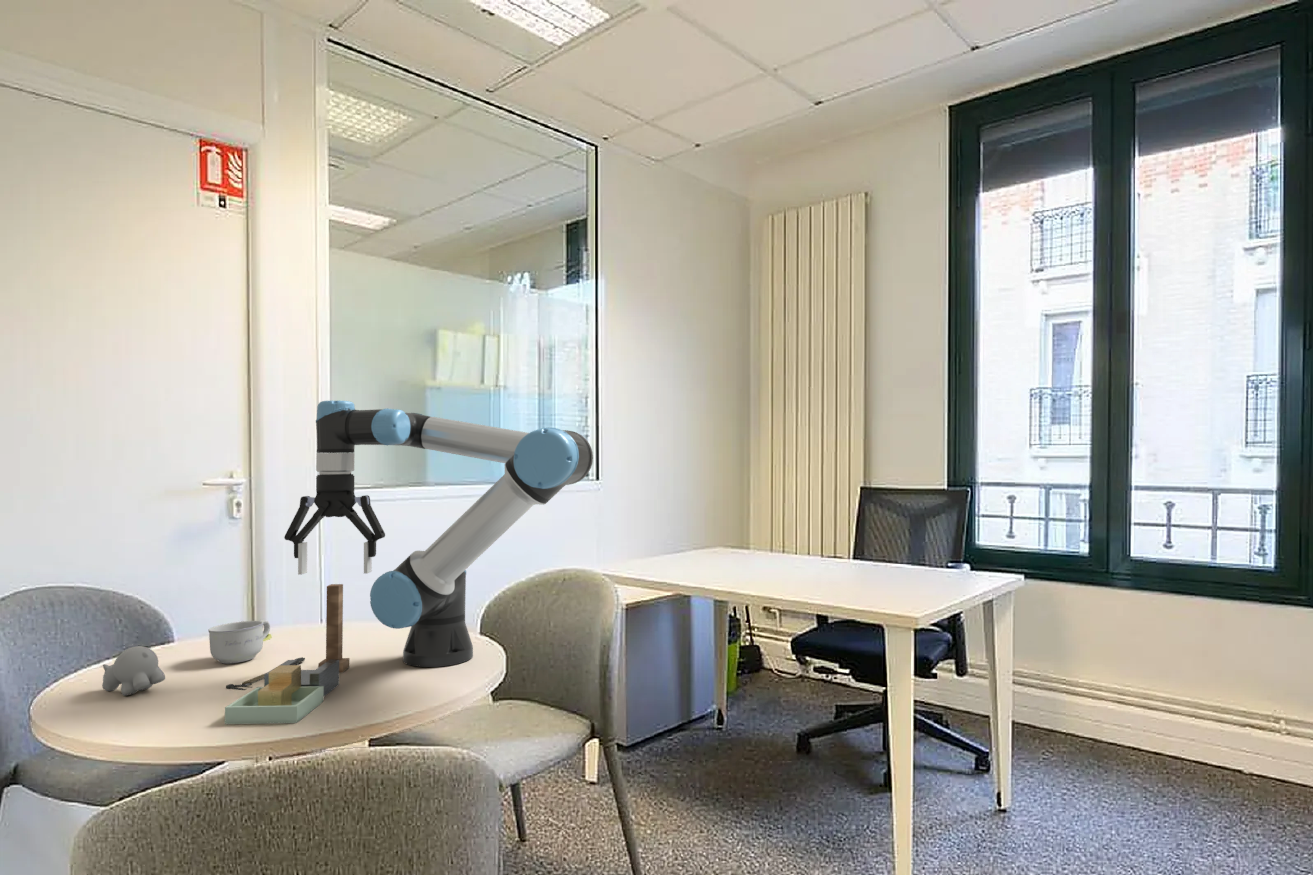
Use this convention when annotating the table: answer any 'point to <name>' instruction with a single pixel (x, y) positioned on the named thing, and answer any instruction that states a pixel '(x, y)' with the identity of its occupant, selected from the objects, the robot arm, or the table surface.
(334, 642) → the walnut t-shaped block
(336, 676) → the graphite slot block
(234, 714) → the sage tray
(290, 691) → the front bronze block
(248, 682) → the tactical tomahawk
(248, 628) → the teacup
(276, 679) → the rear bronze block
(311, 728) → the table surface
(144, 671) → the toy rhinoceros
